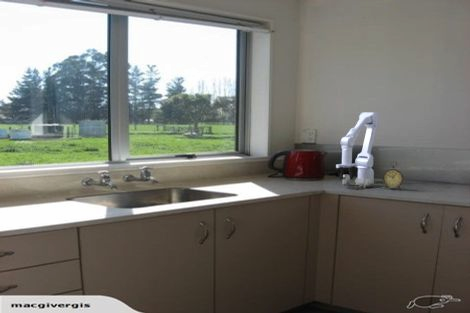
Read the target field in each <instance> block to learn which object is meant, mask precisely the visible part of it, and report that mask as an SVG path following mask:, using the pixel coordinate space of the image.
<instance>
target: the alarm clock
mask: <svg viewBox="0 0 470 313" xmlns="http://www.w3.org/2000/svg"><path fill="white" fill-rule="evenodd" d="M393 162H395V165H392V163H393ZM397 164H398V163H397V161H396V160H391V162H390V166H391V168H388V169H386V170H385V171H384V172H383V174H382V182H383V184H384V185H385V187H384V190H385V189H386V188H391V189H395V188H396V189H397V188H398V189H399V190H400V191H402V188H401V185H402V184H403V182H404V173H403V172H402V171H401V170H400V169H398V168H396V166H397Z"/></svg>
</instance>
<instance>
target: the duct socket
mask: <svg viewBox="0 0 470 313" xmlns="http://www.w3.org/2000/svg"><path fill="white" fill-rule="evenodd" d="M355 181H356V182H355V184H354V183H351V184H347V185H345V189H348V190H362V189H365V188H370V187H371V188H372V187H374V184H375V180H373V179H372V178H365V179H361V178H358V177H355Z"/></svg>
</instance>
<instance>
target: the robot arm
mask: <svg viewBox="0 0 470 313" xmlns="http://www.w3.org/2000/svg"><path fill="white" fill-rule="evenodd" d="M358 118H359V119H358V121H357V122H356V124H355V126H354V127H352V128H350V129H349V131H348V132H347V133H346V135H345V136H343V137H341V140H340V142H339V143H340V146H341V163H339V164H335V170H336V172H337V175H338V177H339V180H340V181H342V180H343V175H345V174H344V172H345V170H346V169H345V168H347V169H348V175H350V180H353V178H354V175H355V172H357V178H361V179H365V178H372V179H373V181H375V180H374V176H375V173H374V172H375V171H374V170H373V168H372V167H373V166H374V156H373V154H371V153H372V147H373V144H374V139H375V135H376V131H377V130H376V129H377V126H378V124H379V113H377V112H376V111H374V112H372V111H371V112H370V111H368V112H365V111H362V112H361V113H360V115H359V117H358ZM364 127H366V132H365V135H364V136H365V137H364V140H363V145H362V149H361V152H360V153H358V154H357V157H356V158H355V162H354V163H352V162H353V161H352V160H353V147H354V146H355V144H356V139H357V137H358V136H360V131H361V130H362V128H364ZM354 182H355V183H356V180H354Z"/></svg>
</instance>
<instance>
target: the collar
mask: <svg viewBox="0 0 470 313" xmlns="http://www.w3.org/2000/svg"><path fill="white" fill-rule="evenodd" d="M341 182H342V183H341V184H342V186H346V185H347V184H350V183H351V179H350V175H349V174H343V180H341Z"/></svg>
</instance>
